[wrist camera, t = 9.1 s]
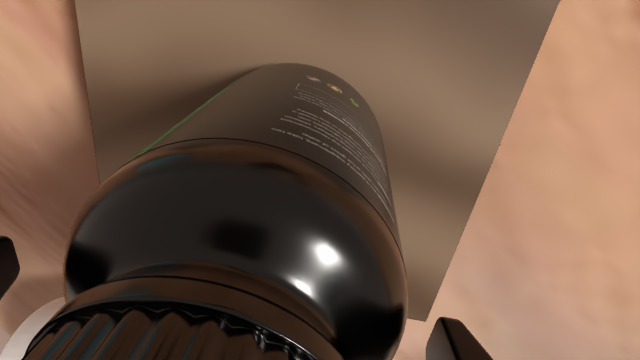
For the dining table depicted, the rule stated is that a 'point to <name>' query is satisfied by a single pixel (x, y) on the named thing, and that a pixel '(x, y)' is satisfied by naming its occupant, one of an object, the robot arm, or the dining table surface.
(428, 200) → the walnut board
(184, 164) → the supplement bottle
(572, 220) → the dining table surface
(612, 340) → the dining table surface
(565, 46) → the dining table surface
